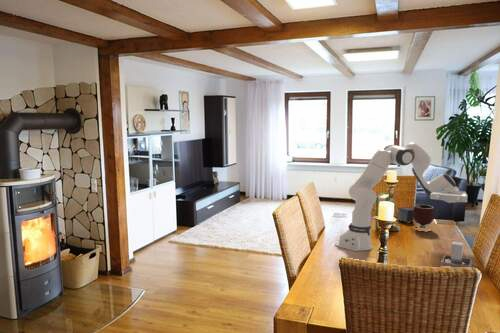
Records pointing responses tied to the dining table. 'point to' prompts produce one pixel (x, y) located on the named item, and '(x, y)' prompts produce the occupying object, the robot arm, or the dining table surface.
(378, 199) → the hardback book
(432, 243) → the dining table surface
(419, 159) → the robot arm
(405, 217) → the small box
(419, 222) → the mate gourd
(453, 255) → the metal block
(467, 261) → the tray
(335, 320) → the dining table surface
